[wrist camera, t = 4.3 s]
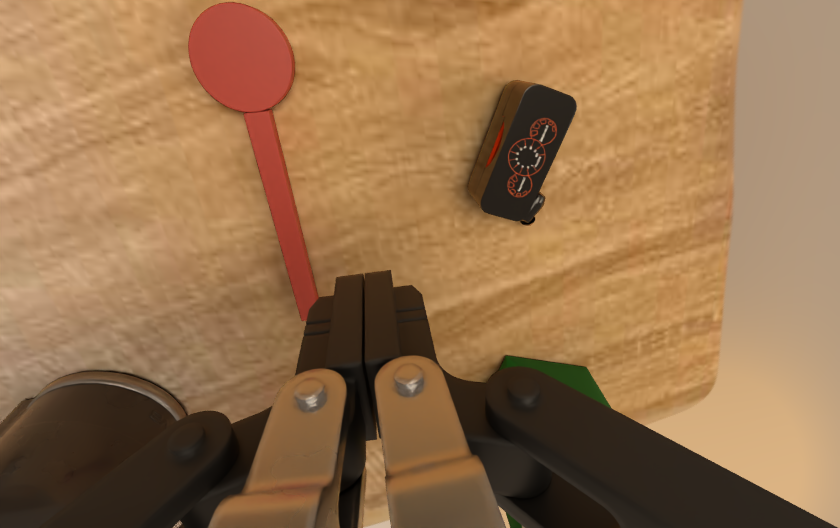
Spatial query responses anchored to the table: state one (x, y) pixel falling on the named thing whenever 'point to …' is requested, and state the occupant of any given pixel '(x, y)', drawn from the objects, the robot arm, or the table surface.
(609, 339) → the table surface
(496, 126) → the black gauge box
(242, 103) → the spoon
